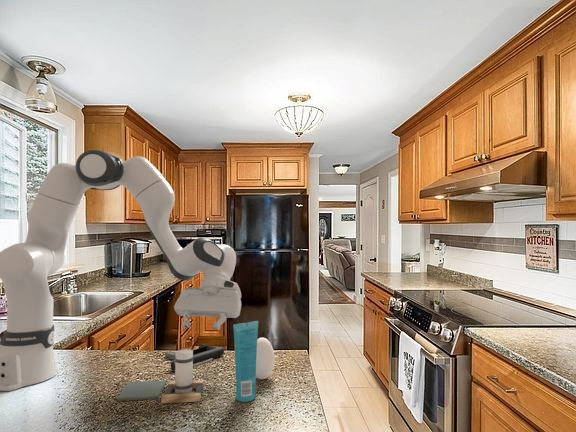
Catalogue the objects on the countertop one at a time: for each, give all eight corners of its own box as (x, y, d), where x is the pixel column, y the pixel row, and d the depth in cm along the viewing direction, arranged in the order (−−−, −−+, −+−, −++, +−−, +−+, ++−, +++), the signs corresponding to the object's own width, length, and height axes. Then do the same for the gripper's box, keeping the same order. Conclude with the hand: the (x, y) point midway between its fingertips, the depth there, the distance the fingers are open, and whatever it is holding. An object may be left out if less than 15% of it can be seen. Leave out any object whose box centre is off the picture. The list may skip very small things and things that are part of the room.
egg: (249, 374, 111) (249, 334, 111) (273, 373, 111) (274, 333, 112) (248, 384, 103) (249, 341, 104) (275, 383, 104) (275, 341, 104)
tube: (251, 390, 99) (252, 318, 100) (262, 396, 95) (263, 321, 96) (227, 399, 94) (229, 323, 95) (239, 406, 90) (240, 326, 91)
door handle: (149, 354, 121) (177, 363, 111) (198, 340, 136) (228, 347, 126) (149, 365, 121) (177, 374, 111) (199, 350, 136) (228, 357, 126)
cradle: (161, 403, 91) (161, 397, 91) (168, 387, 101) (168, 381, 101) (199, 401, 92) (200, 395, 93) (203, 385, 102) (203, 380, 102)
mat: (116, 400, 92) (117, 398, 93) (128, 384, 102) (128, 382, 102) (158, 398, 94) (158, 396, 94) (165, 382, 104) (166, 380, 104)
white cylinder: (172, 398, 94) (173, 354, 94) (176, 390, 99) (176, 349, 99) (191, 397, 95) (192, 354, 95) (193, 390, 99) (194, 348, 100)
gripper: (180, 281, 117) (163, 319, 107) (242, 283, 113) (231, 323, 103) (186, 293, 121) (171, 331, 111) (246, 295, 117) (236, 335, 107)
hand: (200, 327), depth 107 cm, fingers open, 8 cm apart
